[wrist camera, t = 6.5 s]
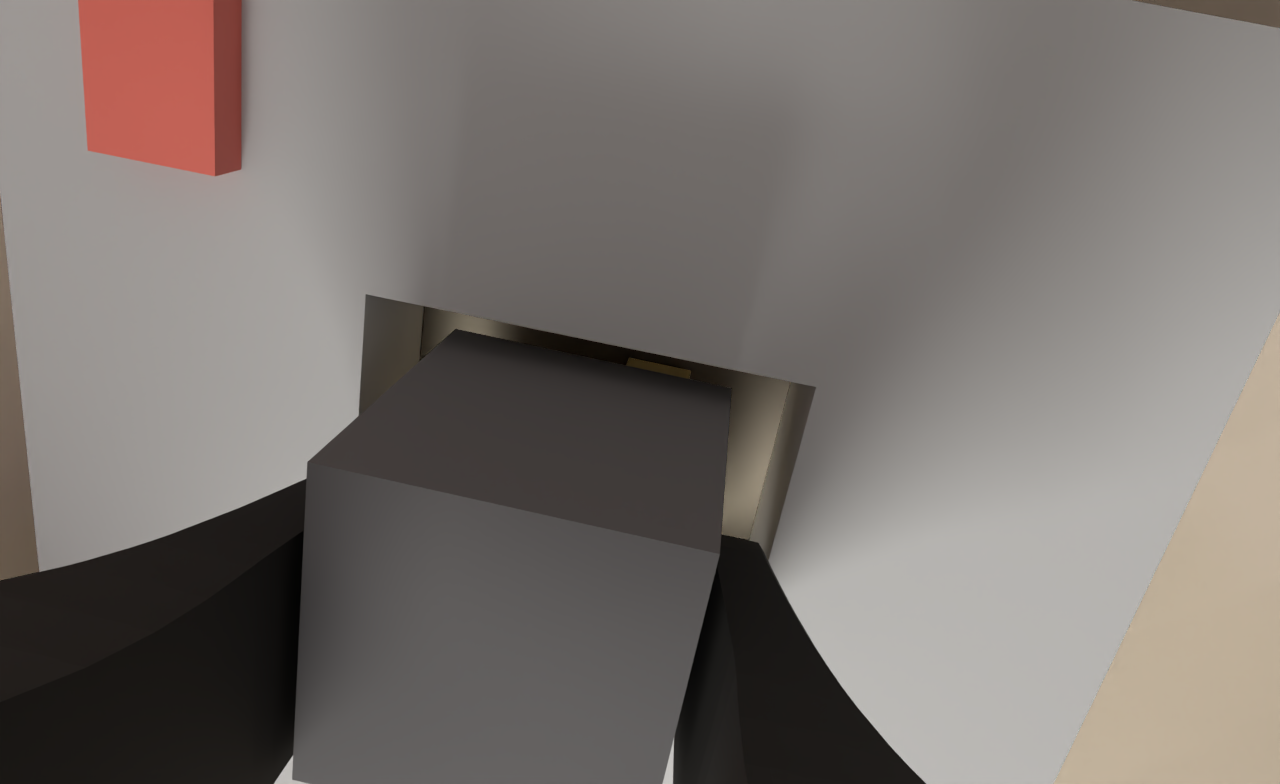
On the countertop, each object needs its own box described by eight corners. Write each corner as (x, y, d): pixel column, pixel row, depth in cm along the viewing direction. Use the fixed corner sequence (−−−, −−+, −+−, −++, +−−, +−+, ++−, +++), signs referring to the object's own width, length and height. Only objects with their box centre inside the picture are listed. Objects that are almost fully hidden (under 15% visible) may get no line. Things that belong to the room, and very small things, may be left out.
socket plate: (915, 891, 18) (948, 1055, 15) (149, 717, 18) (39, 843, 16) (1273, 48, 12) (1447, 52, 9) (106, -172, 12) (-88, -235, 9)
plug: (683, 570, 15) (641, 863, 10) (459, 520, 15) (291, 779, 10) (733, 354, 14) (719, 553, 8) (485, 302, 14) (307, 462, 8)
